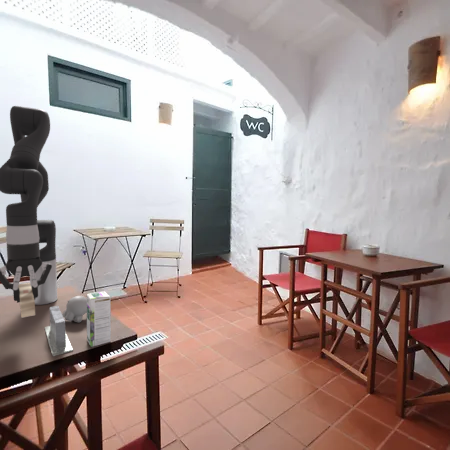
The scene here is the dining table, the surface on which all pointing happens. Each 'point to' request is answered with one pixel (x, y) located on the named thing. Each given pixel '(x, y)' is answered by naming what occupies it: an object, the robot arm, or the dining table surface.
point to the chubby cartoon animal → (75, 309)
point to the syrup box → (98, 318)
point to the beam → (26, 300)
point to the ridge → (57, 333)
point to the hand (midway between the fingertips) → (26, 300)
